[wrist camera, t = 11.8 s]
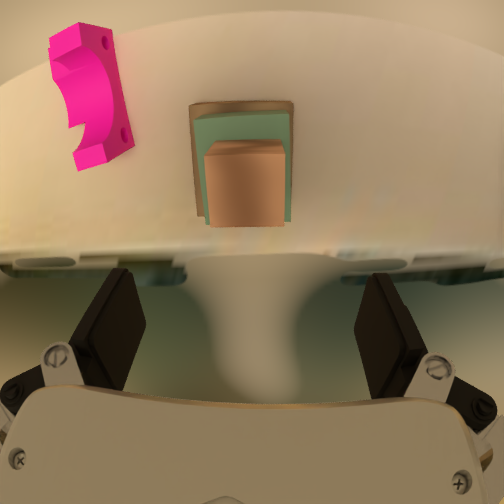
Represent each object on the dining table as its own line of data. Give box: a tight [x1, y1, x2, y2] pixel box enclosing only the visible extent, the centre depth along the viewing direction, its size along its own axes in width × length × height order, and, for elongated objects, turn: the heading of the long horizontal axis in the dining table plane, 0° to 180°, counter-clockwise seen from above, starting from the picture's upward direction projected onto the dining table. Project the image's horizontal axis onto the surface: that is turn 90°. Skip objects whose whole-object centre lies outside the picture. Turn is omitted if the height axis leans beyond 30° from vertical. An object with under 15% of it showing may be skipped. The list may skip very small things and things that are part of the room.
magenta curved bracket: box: [48, 22, 135, 171], centre depth 25 cm, size 15×6×8 cm, turn 9°
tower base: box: [189, 101, 293, 216], centre depth 31 cm, size 10×12×4 cm
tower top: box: [193, 110, 291, 225], centre depth 28 cm, size 8×10×4 cm
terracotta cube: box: [204, 139, 285, 227], centre depth 24 cm, size 6×6×6 cm
